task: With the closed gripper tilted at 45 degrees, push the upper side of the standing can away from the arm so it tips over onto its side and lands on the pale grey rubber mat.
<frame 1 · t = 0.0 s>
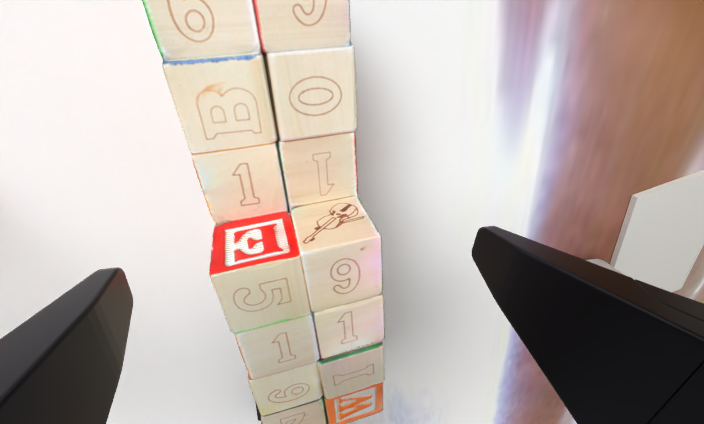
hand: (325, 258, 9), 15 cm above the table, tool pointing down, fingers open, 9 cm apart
stack of blocks: (276, 161, 23), on the table
mat: (657, 247, 41), on the table
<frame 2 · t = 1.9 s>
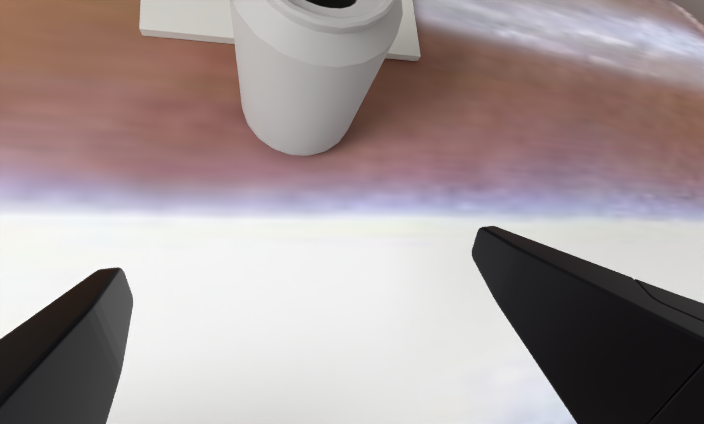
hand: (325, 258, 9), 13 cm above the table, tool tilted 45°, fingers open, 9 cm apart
can: (297, 112, 24), on the table
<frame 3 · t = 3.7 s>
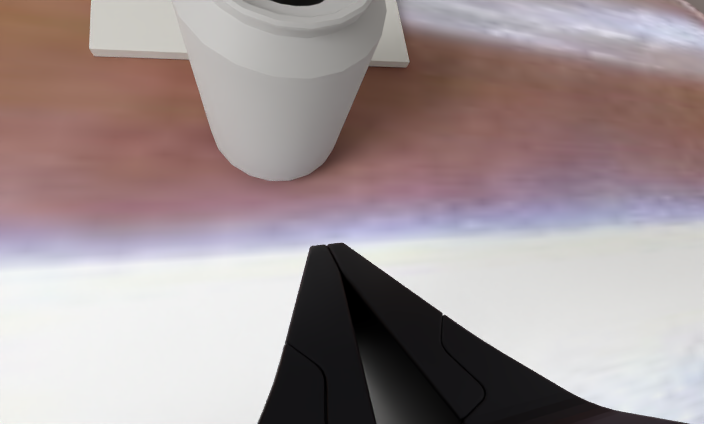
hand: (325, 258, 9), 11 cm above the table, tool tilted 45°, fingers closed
can: (276, 132, 22), on the table
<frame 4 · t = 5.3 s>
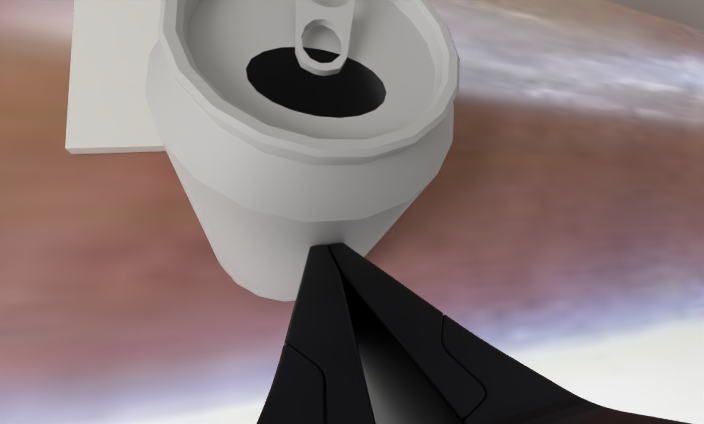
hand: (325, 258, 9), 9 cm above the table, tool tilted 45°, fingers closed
can: (290, 232, 18), on the table, touching gripper
mat: (269, 44, 21), on the table
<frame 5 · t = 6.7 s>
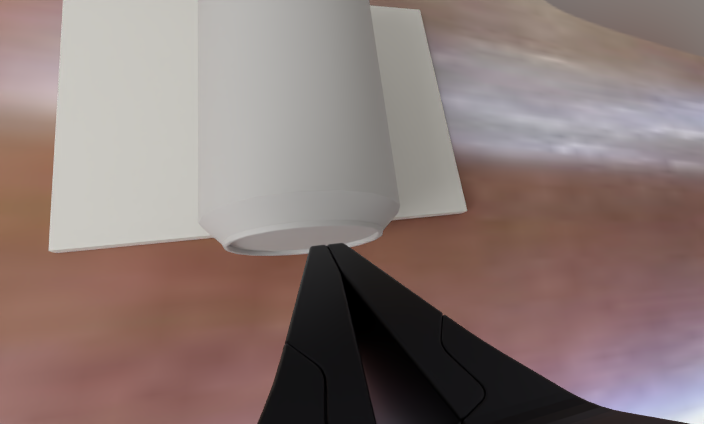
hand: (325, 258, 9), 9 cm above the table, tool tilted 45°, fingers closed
can: (306, 248, 13), point 4 cm above the table, touching mat
mat: (277, 107, 19), on the table
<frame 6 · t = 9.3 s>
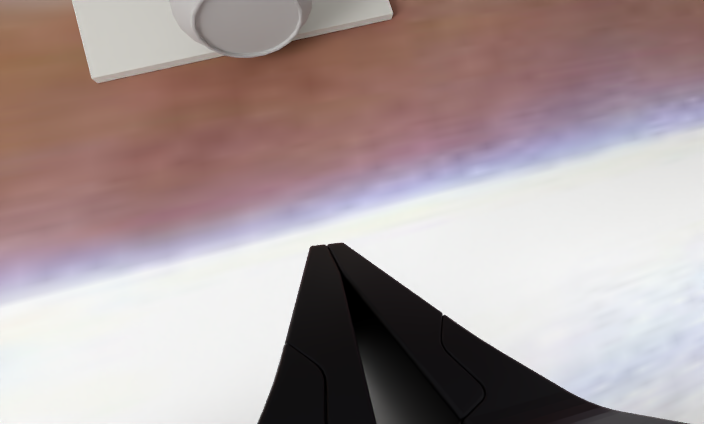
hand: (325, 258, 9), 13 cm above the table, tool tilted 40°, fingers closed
can: (251, 28, 18), point 4 cm above the table, touching mat
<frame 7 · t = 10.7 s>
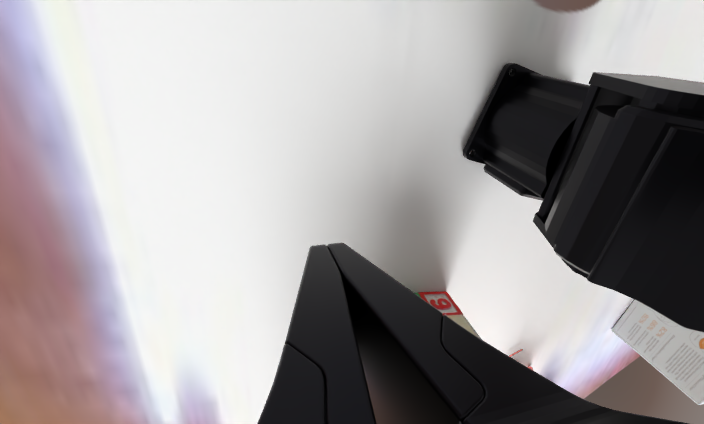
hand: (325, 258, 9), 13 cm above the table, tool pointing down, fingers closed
small box: (639, 305, 44), on the table
stack of blocks: (386, 366, 35), on the table
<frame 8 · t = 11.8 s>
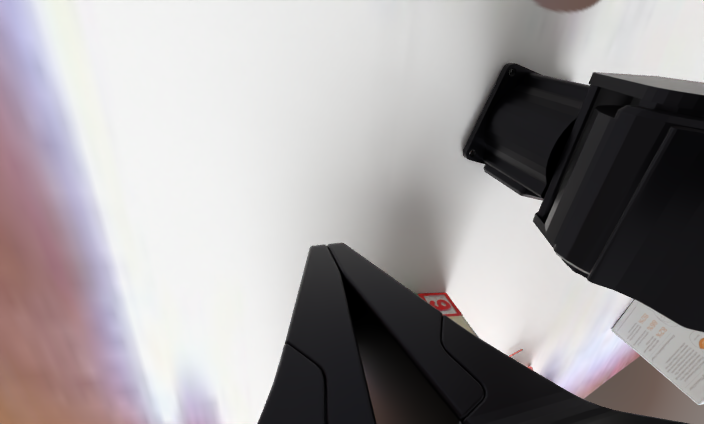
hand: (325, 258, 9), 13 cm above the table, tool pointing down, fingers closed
small box: (639, 305, 44), on the table
stack of blocks: (386, 367, 35), on the table
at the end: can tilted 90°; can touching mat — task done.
